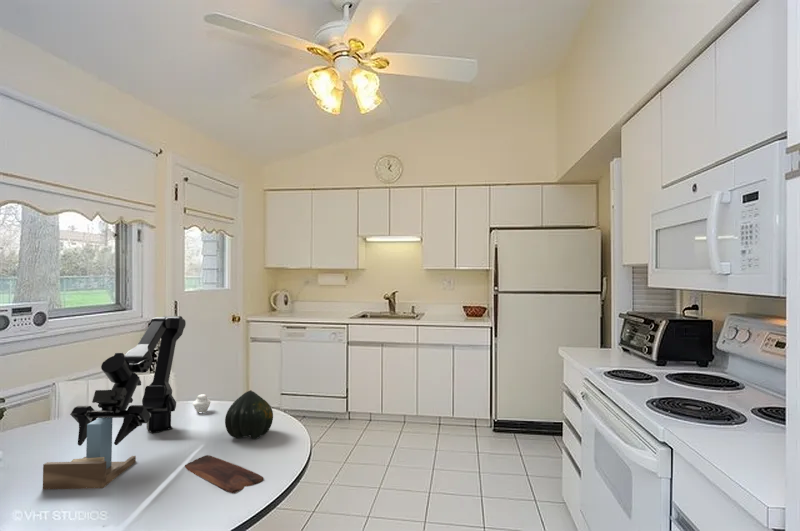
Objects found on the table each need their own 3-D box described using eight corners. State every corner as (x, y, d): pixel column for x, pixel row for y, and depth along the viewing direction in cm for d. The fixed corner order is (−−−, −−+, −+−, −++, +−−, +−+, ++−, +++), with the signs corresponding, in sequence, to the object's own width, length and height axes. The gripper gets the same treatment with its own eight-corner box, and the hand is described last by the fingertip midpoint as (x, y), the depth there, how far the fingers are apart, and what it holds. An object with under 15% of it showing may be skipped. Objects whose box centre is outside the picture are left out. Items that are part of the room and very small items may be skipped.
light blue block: (98, 465, 117) (99, 417, 117) (111, 465, 117) (112, 417, 117) (85, 474, 112) (87, 424, 112) (99, 474, 112) (101, 424, 112)
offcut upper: (73, 468, 109) (73, 459, 109) (104, 466, 111) (104, 456, 111) (64, 476, 105) (64, 465, 105) (96, 473, 107) (96, 463, 107)
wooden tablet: (177, 462, 120) (211, 446, 128) (178, 470, 120) (212, 453, 128) (231, 492, 104) (266, 472, 112) (232, 501, 104) (266, 480, 112)
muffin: (213, 410, 168) (214, 392, 168) (203, 415, 162) (203, 396, 162) (200, 409, 169) (200, 391, 169) (189, 414, 163) (189, 395, 163)
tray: (83, 465, 119) (84, 440, 119) (136, 464, 120) (136, 439, 120) (42, 493, 104) (43, 464, 104) (102, 492, 105) (103, 463, 105)
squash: (245, 432, 130) (267, 387, 140) (208, 427, 136) (231, 384, 146) (269, 450, 140) (287, 407, 150) (233, 445, 145) (253, 403, 155)
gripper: (76, 376, 119) (44, 431, 107) (145, 376, 120) (121, 430, 108) (93, 397, 126) (65, 450, 115) (159, 396, 127) (138, 449, 116)
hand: (97, 444), depth 113 cm, fingers open, 9 cm apart
